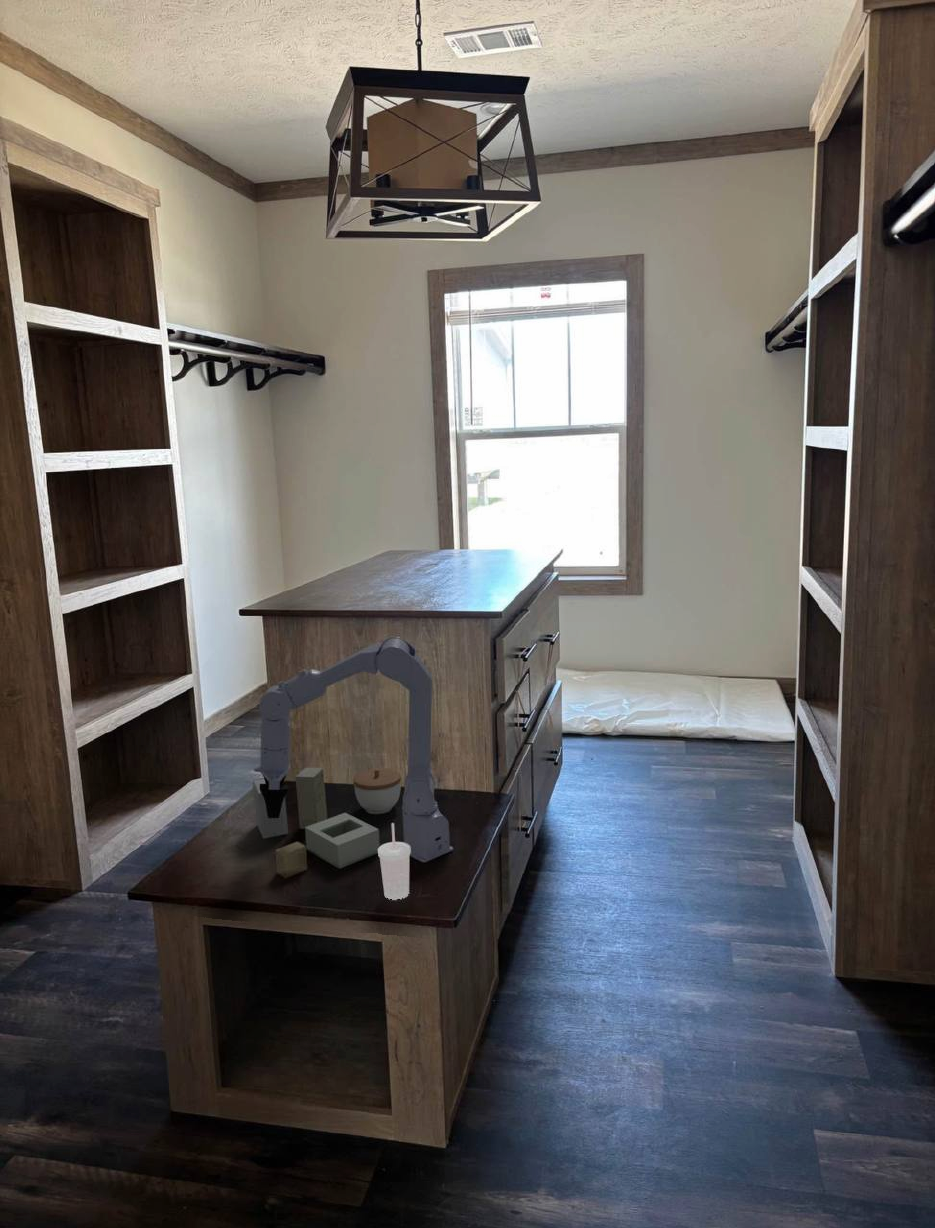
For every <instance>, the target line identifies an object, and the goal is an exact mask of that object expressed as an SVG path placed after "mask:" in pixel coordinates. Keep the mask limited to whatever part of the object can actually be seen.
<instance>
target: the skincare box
mask: <svg viewBox="0 0 935 1228" xmlns="http://www.w3.org/2000/svg"><path fill="white" fill-rule="evenodd" d="M324 774H325V772H324V767H314V766H313V767H311V766H310V767H307V766H306V767H304V768H303V769H302V770H301V771H299V772H298V774H297V775H295V788H296V798H297V799H296V801H297V811H298V820H299V821H298V823H299V829H300V830H305V827H307V826H310V825H313V824H316V823H318V822H321V821H324V820H327V819H328V808H327V801H326V799H327V797H326V788H325V787H326V786H325V775H324Z"/></svg>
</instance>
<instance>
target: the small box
mask: <svg viewBox="0 0 935 1228" xmlns="http://www.w3.org/2000/svg"><path fill="white" fill-rule="evenodd" d="M260 784H266V783H265V780H264V778H263V779H258V780H253V781H252V786H253V798H254V806H255V816H256V817H255V818H256V827H257V828H258V830H259V833H260V835H261V837H262V839H264V840H265V839H270V838H275V837H279V836H284V835H288V834H289V830H288V829H289V828H288V815H287V803H286V796H285V797H284V799H283V803H282V807H281V812H280V816H279V818H268V815H267V810H266V804H265V800H264V797H263V795H262V793H261V791H260Z"/></svg>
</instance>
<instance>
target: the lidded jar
mask: <svg viewBox="0 0 935 1228" xmlns="http://www.w3.org/2000/svg"><path fill="white" fill-rule="evenodd" d="M401 781H402V777H401V774H400V772H398V771H397V770H395V769H393V768H392V769H391V768H382V767H381V768H380V767H379V768H372V769H371V768H370V769H366V770H363V771H360V772H358V773H357V774H355V775H354V777H353V785H354V794H355V797H356V800H357V803H358V804H359V806H360V807H362V808H363V809H364V810H365V811H366V813H368V814H372V815H381V814H386V813H389V812H391V811H392V809H393V807H395V805H397V802H398V801H399V799H400V795H401Z"/></svg>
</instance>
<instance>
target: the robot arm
mask: <svg viewBox="0 0 935 1228" xmlns="http://www.w3.org/2000/svg"><path fill="white" fill-rule="evenodd" d="M378 671H379V673H380V674H381V675H383V676H384V677H386V678H388V679H390V680H393V681H395V682H398V683H399V684H401V685H402V686H403V687H404V688H405V689H407V690H408V692H409V693H408V694H409V696H408V759H407V760H408V763H407V764H408V765H407V766H408V768H407V774H406V776H405V778H404V782H403V783H404V785H403V786H404V792H403V795H402V805H401V806H402V807H401V810H402V813H401V814H402V827H403V842H404V843H407V844H408V845H410V848H411V853H410V855H409V857H412V858H413V859H416V860H417V861H419V862H422V863H427V862H429V861H431V860H434V859H436V858H438V857H442V855H445V854H448V853H450V852H451V851H453V850H454V847H453V846H450V845H451V844H450V843H451V841H450V840H451V839H450V824H449V821H448V819H447V818H446V817H445V816H444V815H443V814H442V813H441V812H440V810H439V806H438V802H437V801H436V800H435V786H436V784H435V783H436V782H435V778H434V776H433V774H432V772H431V758H432V757H431V753H432V751H431V749H432V747H431V745H432V741H431V740H432V697H433V694H432V693H433V677H432V675H431V672H430V671H429V670H428V668H427V667H426V665H425V663H424V662H423V660H422V659H421V657H420V655H419V654H418V651H417V650H416V647H415V646H414V645H412V644H410V643H409V642H408V641H407V640H405V639H404V638H402V637H401V636H400V637H399V636H391V637H388V638H386V639H385V640H384V641H383V642H382V641H378V642H375V643H373V644H371V645H368V646H366V647H365V648H362V649H360V650H359V651H357V652H355V653H353V654H351V655H350V656H348V657H345V658H344V659H341V660H340V661H338V662H336V663H334V664H332V665H331V666H329V667H327V668H325V669H323V670H321V671H320V670H316V669H313V668H312V669H309V670H306V669H305V668H304V669H302V670H300V671H299V672H298V675H296V676H294V677H292V678H291V679H287V680H286V681H283V680H281V681H279V682H278V683H277V685H272V686H270V687H269V688H267V690H266V691H265V692H264V693H263V695H262V697H261V698H260V700H259V704H258V705H259V706H258V708H259V712H260V714H261V724H260V761H259V762H260V764H256V765H254V767H253V768H254V773H255V772H256V773H261V775H262V776H263V779H264V780H265V783H266V784H260V791H261V793H262V795H263V797H264V800H265V804H266V810H267V815H268V818H279V816H280V812H281V807H282V803H283V799H284V797H285V798H286V795H287V793H288V792H289V786H290V785H289V784H285V783H284V782H285V780H286V777H287V775H288V774H289V773H290V771H291V765H290V756H291V755H290V753H291V752H290V751H291V721H290V718H291V717H290V716H291V714H290V713H291V711H290V710H296V709H298V708H300V707H303V706H304V705H307V704H309V703H311V702H314V701H315V700H317V699H319V698H321V697H323V696H325V694H326V692H327V689H328V687H329V686H332V685H335V684H337V683H338V682H342V681H343V680H346V679H348V678H351V677H352V676H354V675H357V674H359V673H361V672H365V673H369V674H371V675H377V672H378Z"/></svg>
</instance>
